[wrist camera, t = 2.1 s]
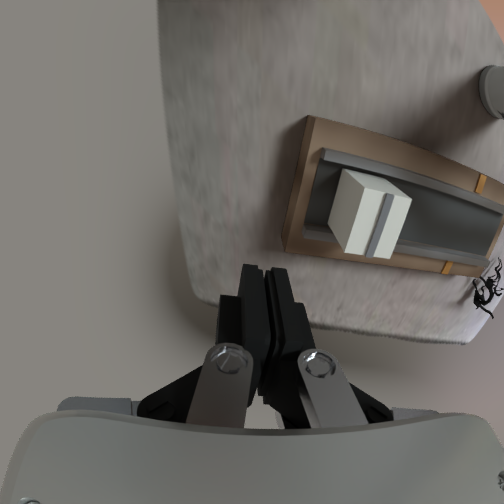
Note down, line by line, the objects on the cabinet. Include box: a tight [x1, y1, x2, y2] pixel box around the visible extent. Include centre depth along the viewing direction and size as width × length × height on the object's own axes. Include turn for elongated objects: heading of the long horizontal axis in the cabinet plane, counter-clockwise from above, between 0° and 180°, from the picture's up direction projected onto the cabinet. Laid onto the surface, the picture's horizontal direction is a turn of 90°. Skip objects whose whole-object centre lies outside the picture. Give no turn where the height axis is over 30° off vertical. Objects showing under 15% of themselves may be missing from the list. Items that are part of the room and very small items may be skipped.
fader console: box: [281, 115, 504, 278], centre depth 27 cm, size 12×26×4 cm, turn 81°
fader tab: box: [328, 168, 412, 259], centre depth 22 cm, size 5×4×5 cm
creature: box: [472, 257, 504, 319], centre depth 32 cm, size 8×5×8 cm
